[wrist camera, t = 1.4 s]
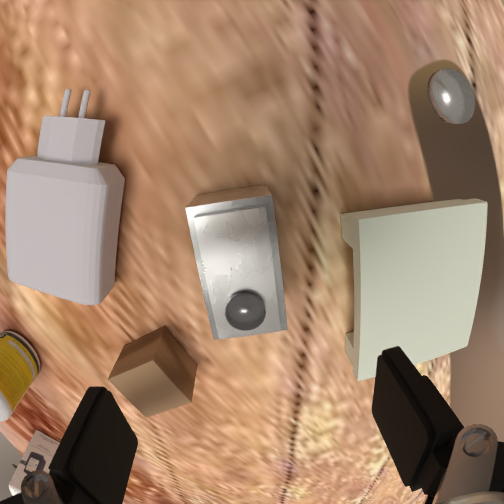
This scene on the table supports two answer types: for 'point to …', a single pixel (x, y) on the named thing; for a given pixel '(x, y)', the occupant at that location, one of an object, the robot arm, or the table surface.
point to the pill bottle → (15, 371)
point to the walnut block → (155, 373)
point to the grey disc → (451, 96)
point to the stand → (414, 279)
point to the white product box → (34, 459)
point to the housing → (238, 261)
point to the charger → (64, 211)
